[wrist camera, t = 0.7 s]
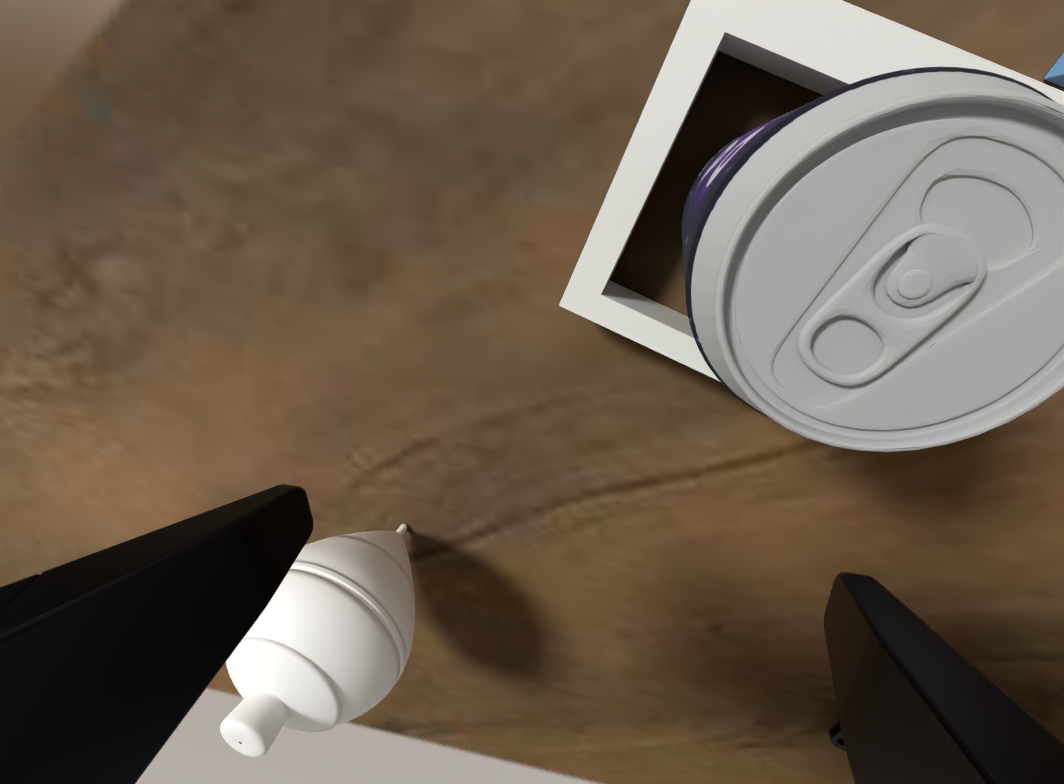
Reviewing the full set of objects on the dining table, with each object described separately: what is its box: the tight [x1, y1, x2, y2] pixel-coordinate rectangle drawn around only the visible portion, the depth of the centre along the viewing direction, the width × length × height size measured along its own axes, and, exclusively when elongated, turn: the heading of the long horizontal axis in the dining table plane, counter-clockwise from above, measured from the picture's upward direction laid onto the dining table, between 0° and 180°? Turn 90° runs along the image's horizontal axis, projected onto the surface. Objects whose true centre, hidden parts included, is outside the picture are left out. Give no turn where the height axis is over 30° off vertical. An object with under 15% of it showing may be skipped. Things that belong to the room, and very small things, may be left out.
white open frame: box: [559, 0, 1064, 381], centre depth 14 cm, size 10×20×2 cm, turn 158°
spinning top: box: [220, 524, 415, 757], centre depth 23 cm, size 8×8×12 cm
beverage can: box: [682, 67, 1064, 452], centre depth 12 cm, size 6×6×12 cm
